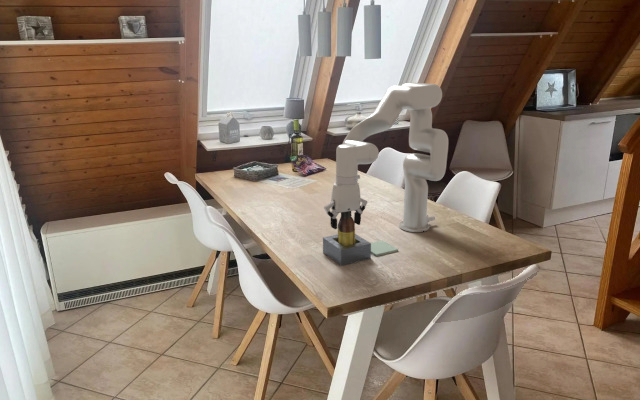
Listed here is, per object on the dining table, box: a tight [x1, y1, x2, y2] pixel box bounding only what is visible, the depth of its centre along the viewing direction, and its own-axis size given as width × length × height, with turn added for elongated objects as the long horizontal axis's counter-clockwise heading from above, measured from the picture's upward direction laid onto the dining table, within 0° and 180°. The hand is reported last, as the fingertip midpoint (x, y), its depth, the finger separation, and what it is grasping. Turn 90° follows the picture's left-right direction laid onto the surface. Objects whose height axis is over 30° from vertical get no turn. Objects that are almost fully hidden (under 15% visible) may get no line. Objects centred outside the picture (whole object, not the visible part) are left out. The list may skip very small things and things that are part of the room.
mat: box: [370, 239, 399, 257], centre depth 185 cm, size 10×10×1 cm
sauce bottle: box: [337, 208, 356, 246], centre depth 177 cm, size 7×6×20 cm
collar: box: [322, 233, 372, 267], centre depth 179 cm, size 12×13×6 cm
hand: (345, 225), depth 176 cm, fingers open, 9 cm apart
